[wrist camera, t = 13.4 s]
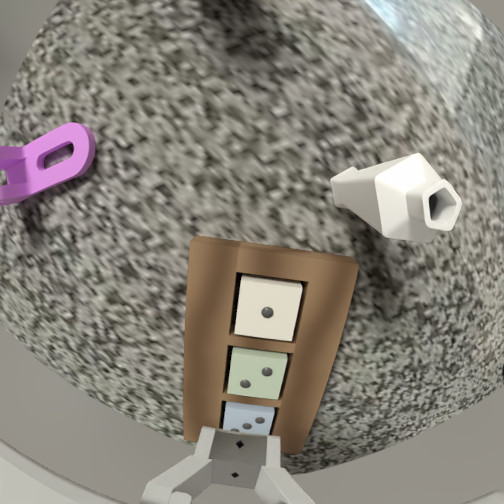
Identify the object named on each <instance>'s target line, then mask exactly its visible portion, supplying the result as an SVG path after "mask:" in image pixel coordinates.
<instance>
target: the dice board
mask: <svg viewBox="0 0 504 504" xmlns="http://www.w3.org/2000/svg"><path fill="white" fill-rule="evenodd" d="M358 269H359V264H358V263H357V262H356V261H355V260H354V259H353V258H352V257H348V256H341V255H334V254H327V253H320V252H313V251H306V250H299V249H292V248H285V247H278V246H271V245H263V244H256V243H249V242H242V241H234V240H227V239H220V238H212V237H205V236H196V237H195V238H194V239H192V240H191V241H190V251H189V264H188V279H187V295H186V314H185V338H184V382H183V420H184V440H189V441H194V442H198V440H199V436H200V433H201V429H202V427H203V426H207V427H212V428H218V429H223V425H224V422H221V415H222V406H223V401H229V402H236V403H244V404H251V405H260V406H269V407H276V409H275V412H274V416H273V420H272V424H271V428H270V432H269V435H271V436H280V438H281V453H290V454H301V451H302V449H303V447H304V444H305V442H306V439H307V437H308V434H309V432H310V429H311V426H312V424H313V421H314V418H315V416H316V413H317V410H318V407H319V405H320V402H321V399H322V396H323V393H324V390H325V387H326V384H327V381H328V378H329V375H330V372H331V369H332V366H333V363H334V360H335V356H336V353H337V350H338V346H339V343H340V340H341V336H342V333H343V329H344V325H345V322H346V318H347V314H348V310H349V307H350V303H351V299H352V295H353V291H354V286H355V282H356V278H357V273H358ZM238 272H242V273H249V274H256V275H263V276H271V277H278V278H285V279H293V280H301V281H304V283H303V288H302V293H301V298H300V303H299V308H298V313H297V318H296V323H295V327H294V332H293V337H292V341H285V340H277V339H269V338H261V337H253V336H246V335H239V334H234V333H235V325H236V323H232V318H233V309H234V301H235V292H236V284H237V276H238ZM229 345H232V346H239V347H246V348H254V349H261V350H269V351H278V352H287V353H289V355H288V359H287V363H286V368H285V372H284V376H283V380H282V385H281V389H280V393H279V397H278V400H277V399H267V398H258V397H250V396H242V395H235V394H228V393H227V391H228V383H229V379H226V370H227V361H228V352H229Z"/></svg>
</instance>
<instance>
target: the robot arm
mask: <svg viewBox="0 0 504 504" xmlns="http://www.w3.org/2000/svg"><path fill="white" fill-rule="evenodd" d="M211 483H214V484H221V485H229V486H237V487H243V488H250V489H255V492H256V493H257V495H258V496H259V498H260V500H261V501H262V503H263V504H315V503H314V502H313V500H312V499H311V498H310V497H309V496H308V495H307V494H306V493H305V491H304V490H303V489H302V488H301V487H300V486H299V485H298V483H297V482H296V481H295V480H294V479H293V478H292V476H291V475H290V474H289V473H288V472H287V470H286V469H285V468H281V438H280V436H271V435H262V434H252V433H244V432H235V431H229V430H224V429H218V428H212V427H207V426H203V427H202V429H201V433H200V436H199V440H198V443H197V447H196V451H195V454H194V456H193V455H190V456H188V457H187V458H185V459H184V460H182V461H181V462H179V463H178V464H176V465H175V466H173V467H172V468H170V469H169V470H167V471H165V472H164V473H162V474H161V475H159V476H158V477H156V478H154V479H153V480H151V481H150V482H148V483H147V486H146V488H145V491H144V494H143V496H142V499H141V501H140V503H139V504H192V501H193V500H194V499H195V498H196V497H197V496H198V495H199V494H201V493H202V492H203V491H204V490H205V489H206V488H207V487H208V486H209V485H211ZM0 504H127V503H124V502H121V501H119V500H116V499H113V498H111V497H108V496H105V495H103V494H101V493H98V492H96V491H94V490H91V489H89V488H87V487H84V486H82V485H80V484H78V483H76V482H74V481H71V480H69V479H67V478H65V477H63V476H61V475H59V474H57V473H56V472H54V471H52V470H50V469H48V468H46V467H44V466H43V465H41V464H39V463H38V462H36V461H34V460H33V459H31V458H29V457H28V456H26V455H24V454H23V453H21V452H20V451H18V450H17V449H15V448H14V447H12V446H11V445H9V444H8V443H6V442H5V441H3V440H2V439H0ZM462 504H504V492H503V491H501V490H496V491H492V492H490V493H488V494H485V495H483V496H480V497H478V498H476V499H473V500H470V501H468V502H465V503H462Z"/></svg>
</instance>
